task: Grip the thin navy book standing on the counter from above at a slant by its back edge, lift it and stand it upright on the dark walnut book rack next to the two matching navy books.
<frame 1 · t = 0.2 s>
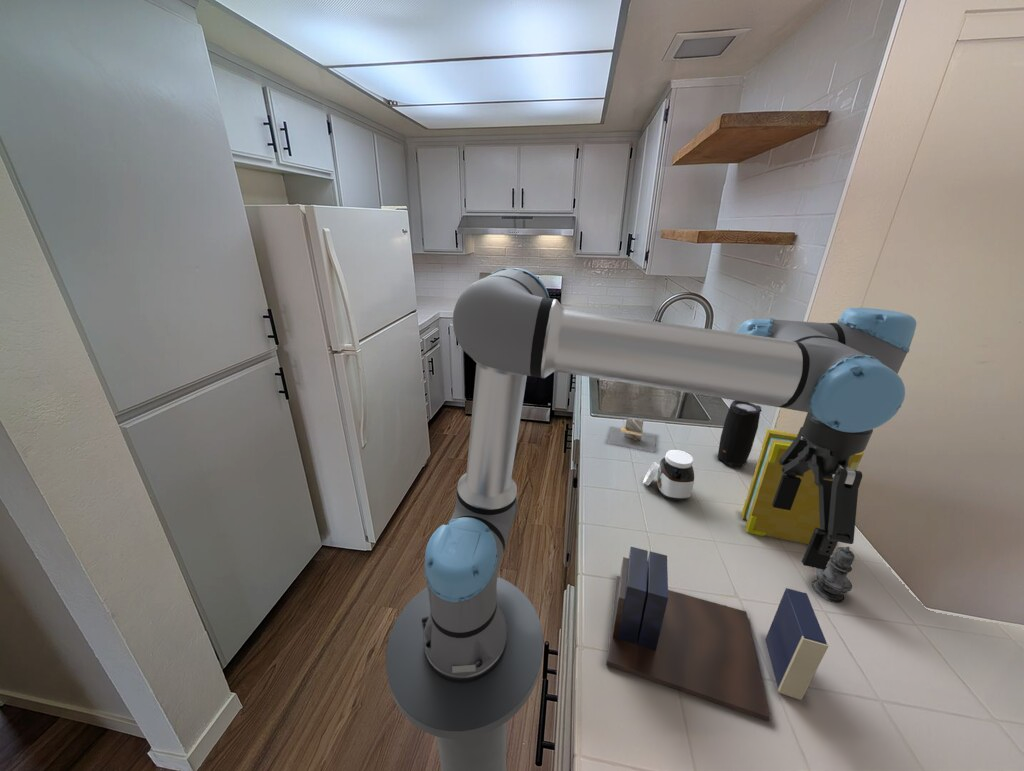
hand: (795, 534, 63), 22 cm above the worktop, tool pointing down, fingers open, 13 cm apart
spread jar: (664, 490, 107), on the worktop
chess piece: (827, 591, 78), on the worktop
navy book: (781, 667, 64), on the worktop
portable speaker: (730, 461, 120), on the worktop
book: (782, 531, 93), on the worktop
book rack: (679, 638, 69), on the worktop
architectural model: (632, 440, 132), on the worktop
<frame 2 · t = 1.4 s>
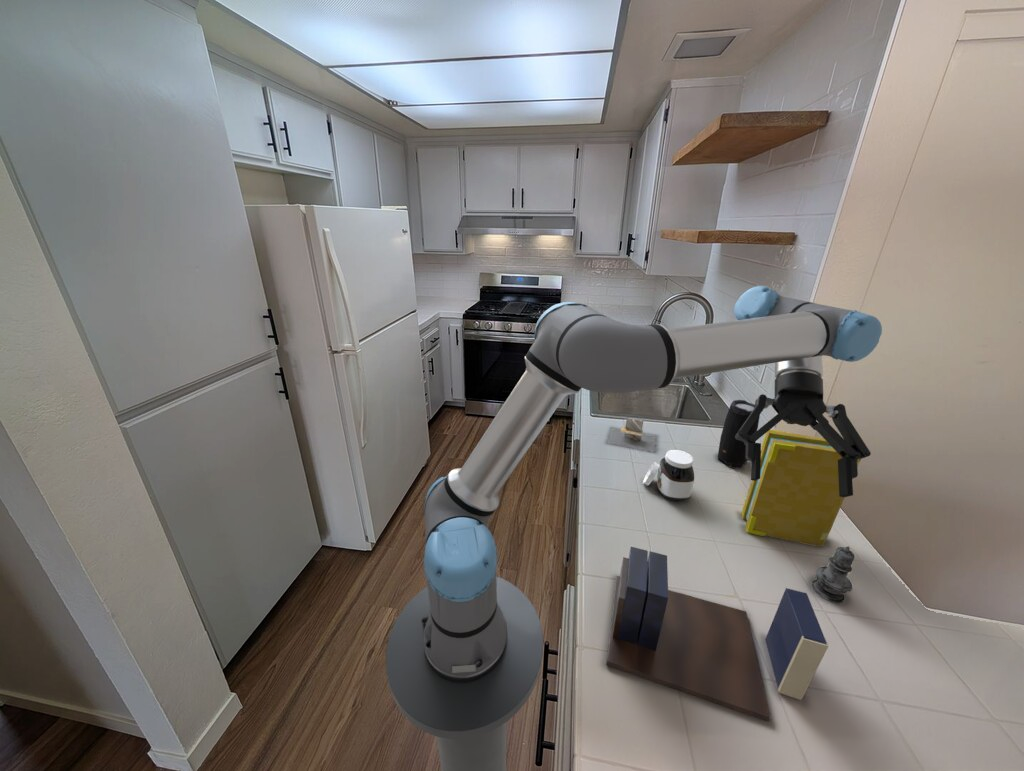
hand: (799, 487, 67), 26 cm above the worktop, tool tilted 45°, fingers open, 13 cm apart
nothing on the worktop moved.
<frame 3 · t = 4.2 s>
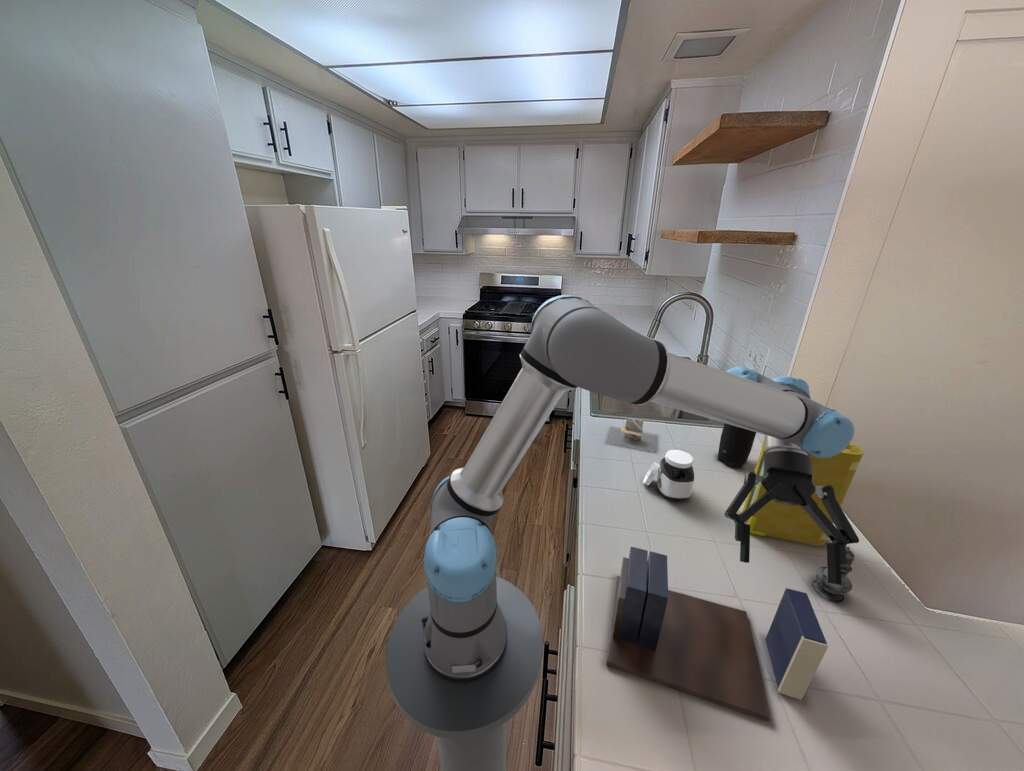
hand: (788, 572, 67), 12 cm above the worktop, tool tilted 45°, fingers open, 13 cm apart
nothing on the worktop moved.
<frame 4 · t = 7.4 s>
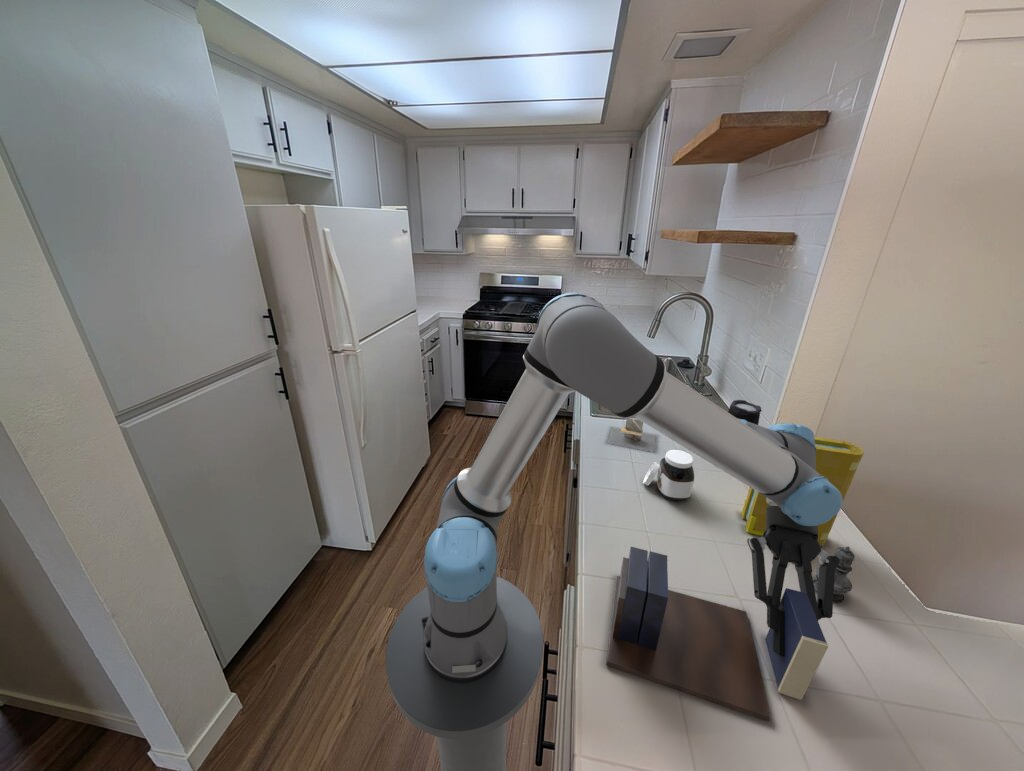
hand: (792, 657, 61), 5 cm above the worktop, tool tilted 45°, fingers closed on navy book, 3 cm apart
navy book: (781, 667, 64), on the worktop, touching gripper
everything else where it was.
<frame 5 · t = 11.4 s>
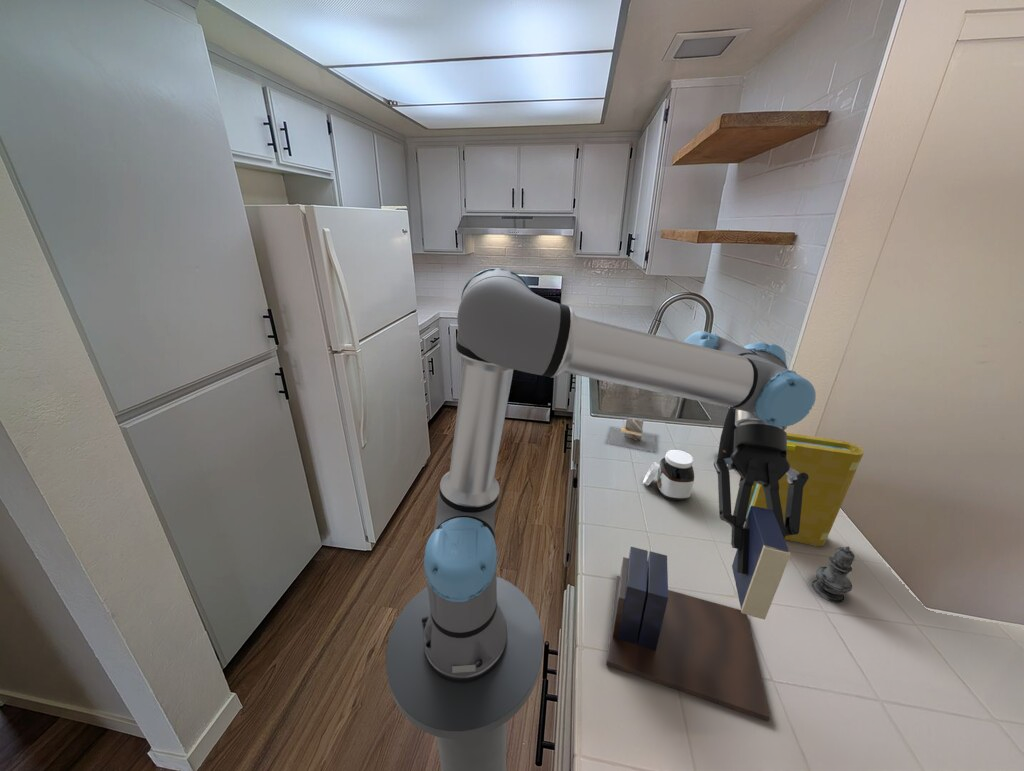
hand: (756, 576, 58), 20 cm above the worktop, tool tilted 45°, fingers closed on navy book, 3 cm apart
navy book: (746, 590, 61), point 15 cm above the worktop, touching gripper
everything else where it was.
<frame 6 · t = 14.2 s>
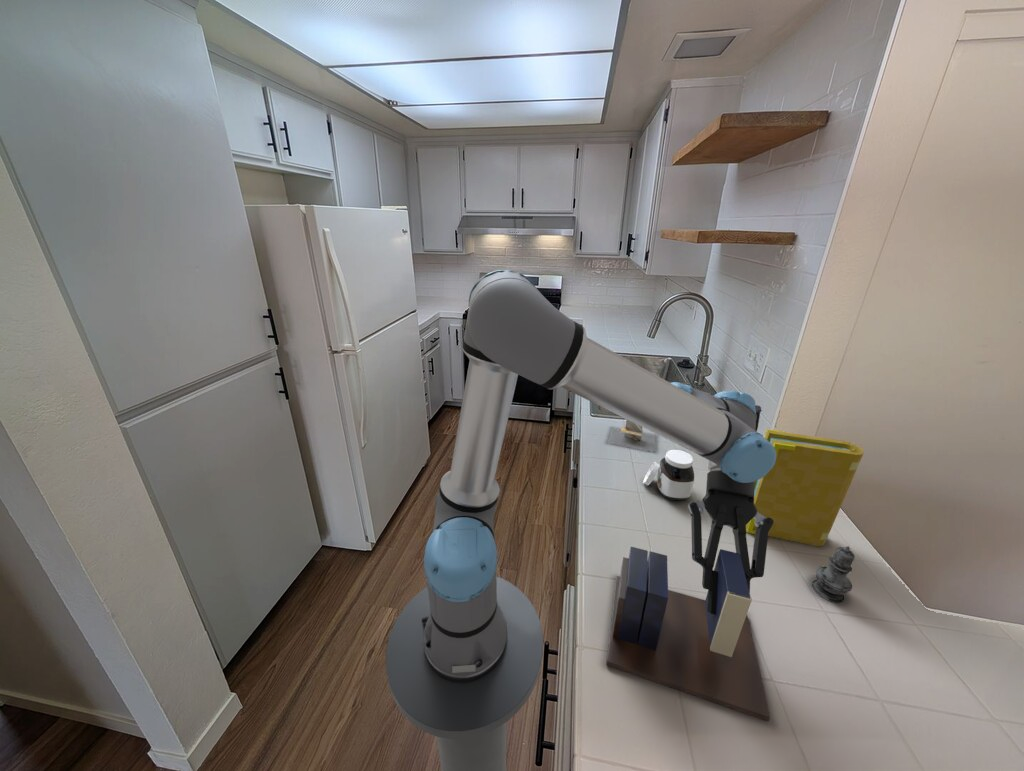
hand: (724, 616, 62), 10 cm above the worktop, tool tilted 45°, fingers closed on navy book, 3 cm apart
navy book: (717, 627, 65), point 5 cm above the worktop, touching gripper
everything else where it was.
when the fingers open (6 cm above the worktop, at t = 15.6 s): navy book stays where it is, resting on book rack.
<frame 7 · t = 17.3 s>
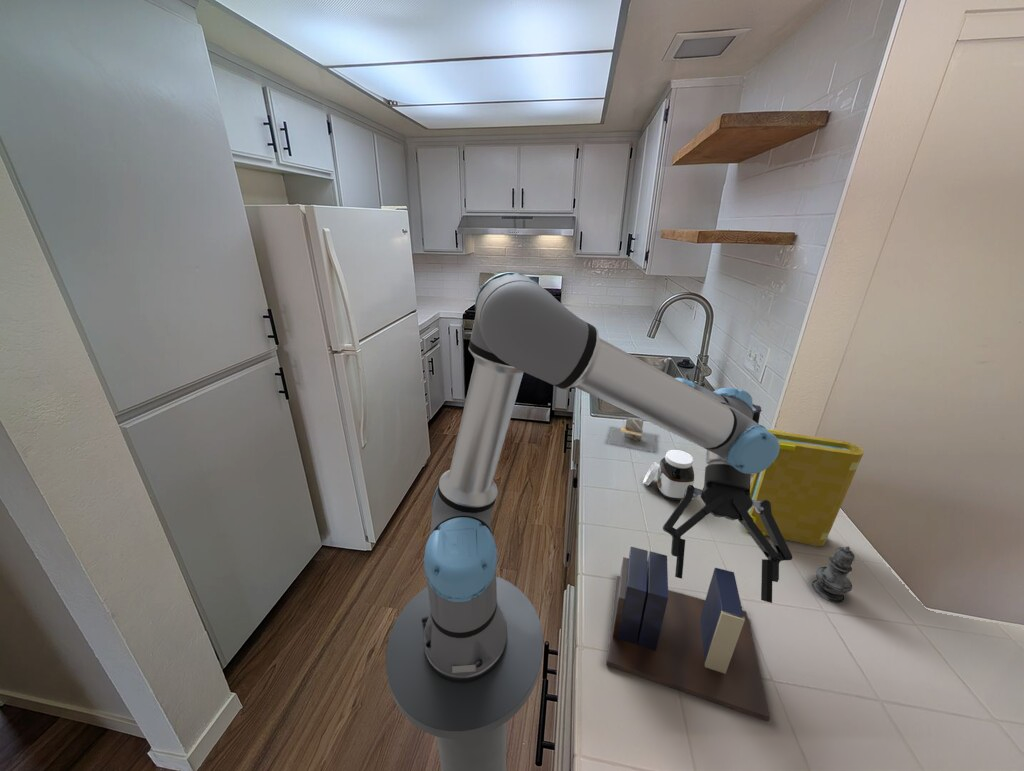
hand: (721, 589, 66), 11 cm above the worktop, tool tilted 45°, fingers open, 13 cm apart
navy book: (711, 644, 67), point 1 cm above the worktop, touching book rack
everything else where it was.
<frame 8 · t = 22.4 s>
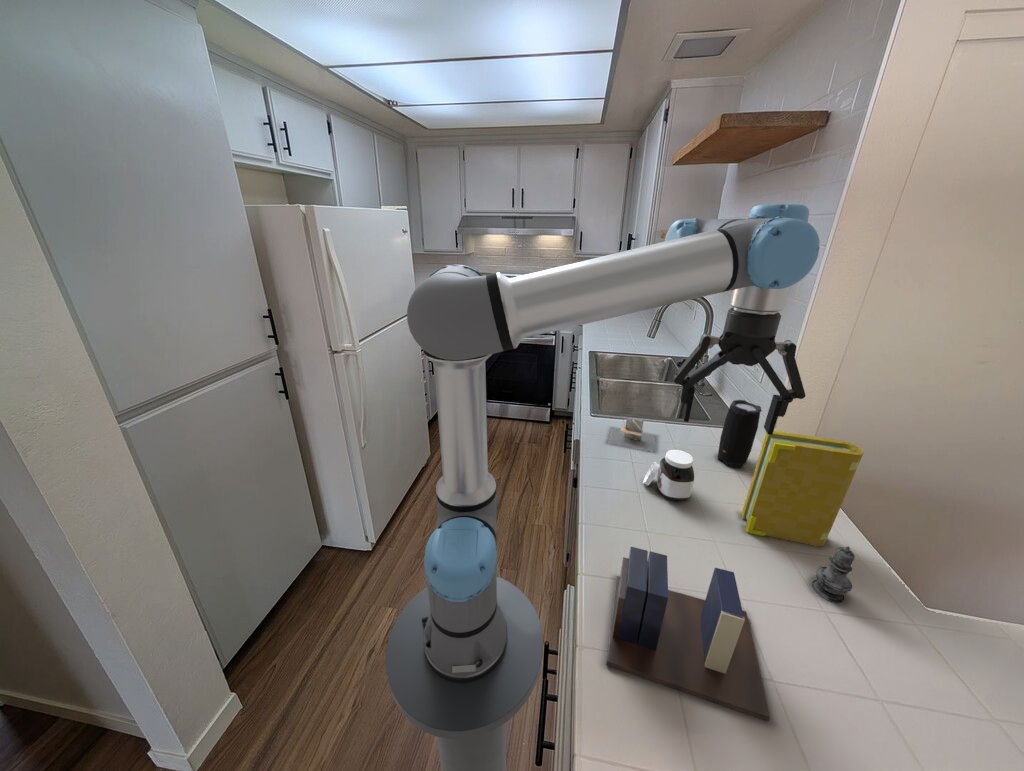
hand: (725, 424, 70), 35 cm above the worktop, tool pointing down, fingers open, 13 cm apart
nothing on the worktop moved.
at the end: navy book 0.0 cm from the target spot on the book rack, point 1.0 cm above the book rack's base; navy book tilted 0°; the gripper is holding nothing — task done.
